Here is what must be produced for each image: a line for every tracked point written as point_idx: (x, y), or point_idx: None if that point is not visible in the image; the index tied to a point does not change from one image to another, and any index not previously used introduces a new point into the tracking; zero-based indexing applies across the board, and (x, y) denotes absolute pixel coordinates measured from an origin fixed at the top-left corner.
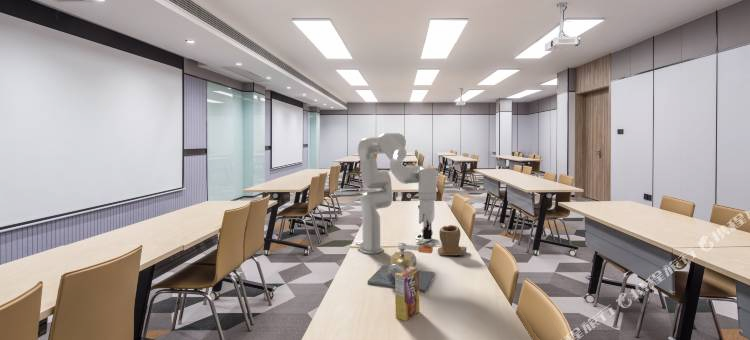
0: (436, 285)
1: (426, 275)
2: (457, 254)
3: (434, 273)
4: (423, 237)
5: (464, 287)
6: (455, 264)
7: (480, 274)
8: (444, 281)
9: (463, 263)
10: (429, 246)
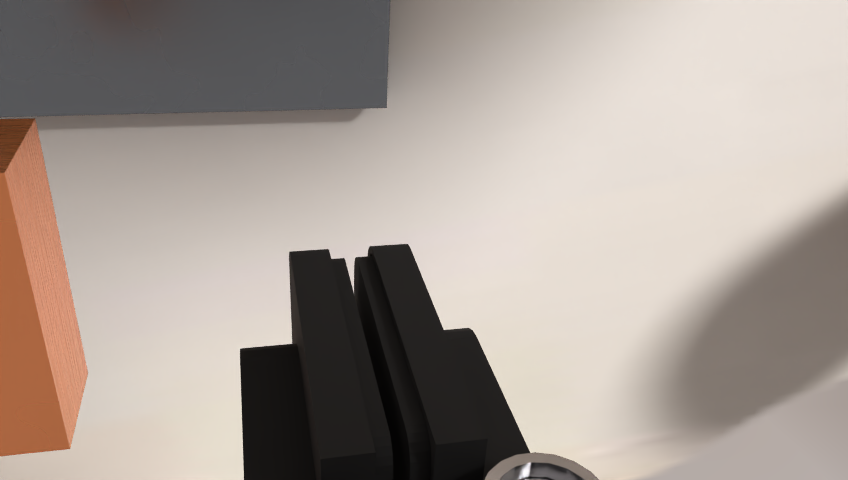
0: (67, 182)
1: (230, 34)
2: None
3: (378, 102)
4: (291, 266)
5: (164, 415)
6: (737, 238)
7: None
8: (226, 234)
9: (769, 298)
10: (8, 397)
